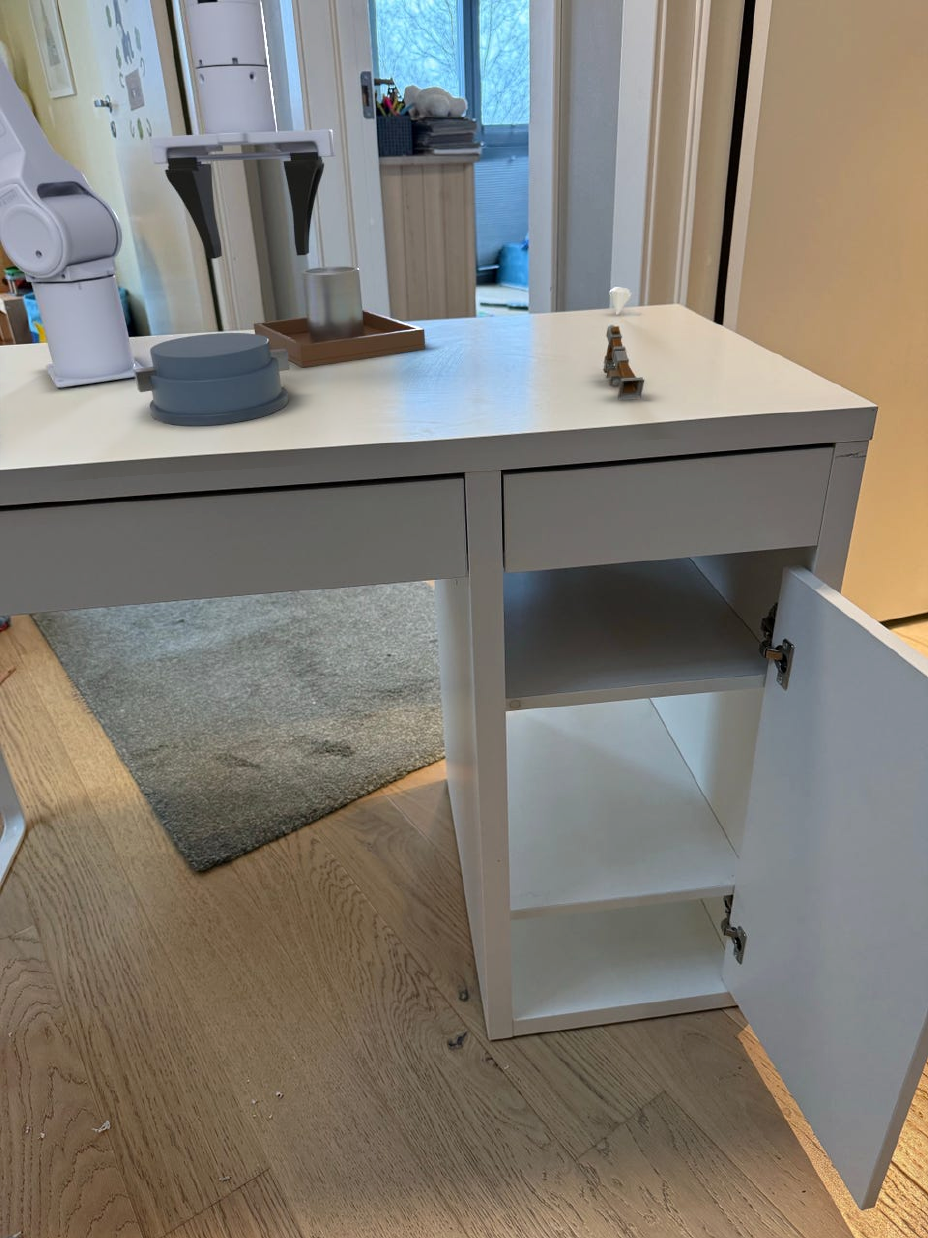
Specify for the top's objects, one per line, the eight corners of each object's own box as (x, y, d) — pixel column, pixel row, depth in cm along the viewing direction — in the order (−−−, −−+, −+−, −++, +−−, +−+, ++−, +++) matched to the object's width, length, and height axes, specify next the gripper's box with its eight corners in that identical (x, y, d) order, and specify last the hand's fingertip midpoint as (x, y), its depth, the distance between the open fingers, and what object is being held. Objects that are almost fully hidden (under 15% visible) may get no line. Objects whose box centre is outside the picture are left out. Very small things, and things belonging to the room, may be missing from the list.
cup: (302, 339, 92) (293, 269, 88) (352, 333, 94) (345, 264, 90) (321, 349, 87) (312, 275, 84) (373, 341, 89) (367, 269, 86)
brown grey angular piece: (615, 362, 75) (623, 317, 71) (635, 423, 70) (645, 377, 66) (594, 364, 75) (601, 318, 71) (613, 424, 70) (622, 378, 66)
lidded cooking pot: (132, 404, 72) (118, 343, 70) (271, 382, 77) (263, 324, 75) (159, 435, 64) (144, 367, 62) (313, 409, 69) (306, 345, 66)
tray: (256, 342, 94) (253, 323, 93) (367, 327, 99) (365, 309, 98) (302, 367, 82) (299, 346, 81) (425, 349, 88) (424, 328, 87)
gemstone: (609, 314, 102) (615, 288, 101) (631, 318, 101) (637, 291, 100) (601, 311, 100) (607, 284, 99) (623, 314, 98) (629, 287, 98)
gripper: (122, 69, 64) (160, 264, 71) (315, 60, 64) (335, 257, 70) (154, 75, 70) (186, 254, 77) (330, 67, 70) (347, 248, 76)
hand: (259, 255), depth 74 cm, fingers open, 7 cm apart
